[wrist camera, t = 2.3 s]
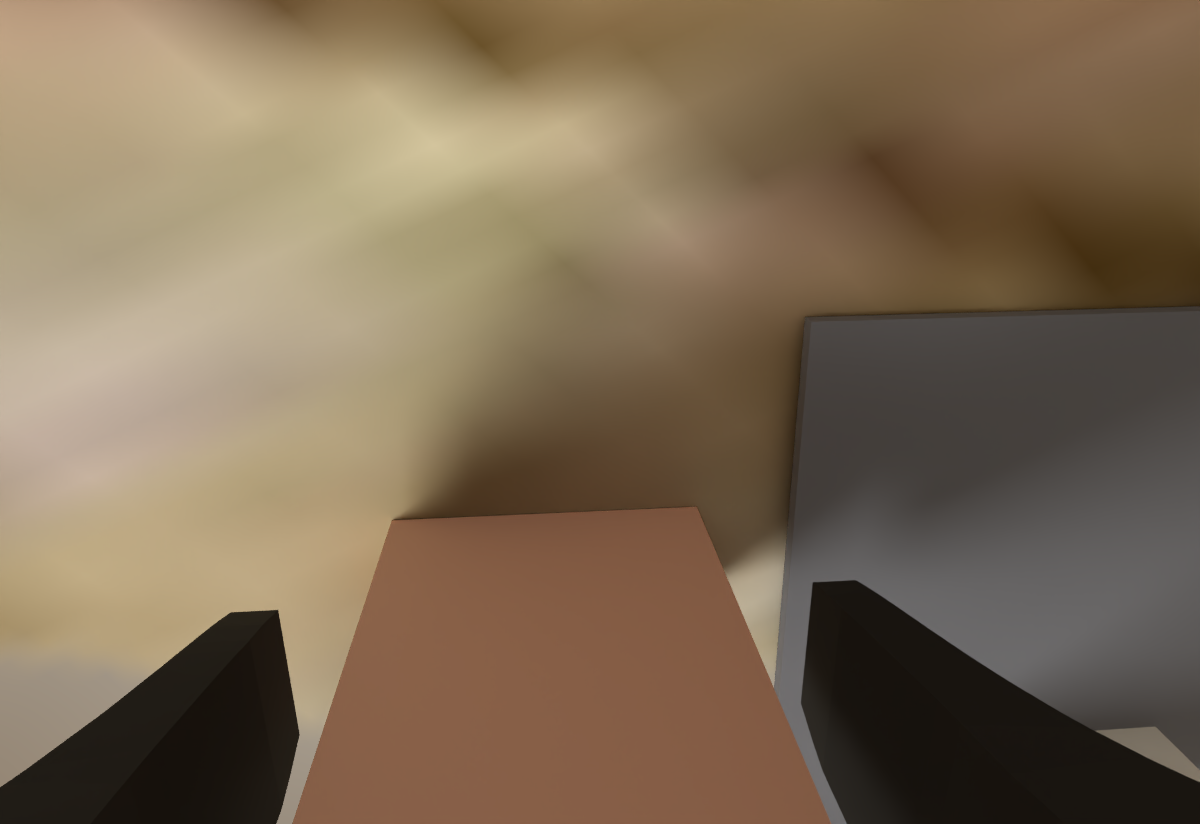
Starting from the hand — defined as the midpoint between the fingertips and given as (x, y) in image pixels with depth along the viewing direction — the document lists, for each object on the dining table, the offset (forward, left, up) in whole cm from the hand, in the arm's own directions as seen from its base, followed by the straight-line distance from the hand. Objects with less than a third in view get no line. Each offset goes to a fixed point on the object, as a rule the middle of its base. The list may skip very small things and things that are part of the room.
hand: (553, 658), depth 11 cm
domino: (0, 0, -3) cm, 3 cm away
